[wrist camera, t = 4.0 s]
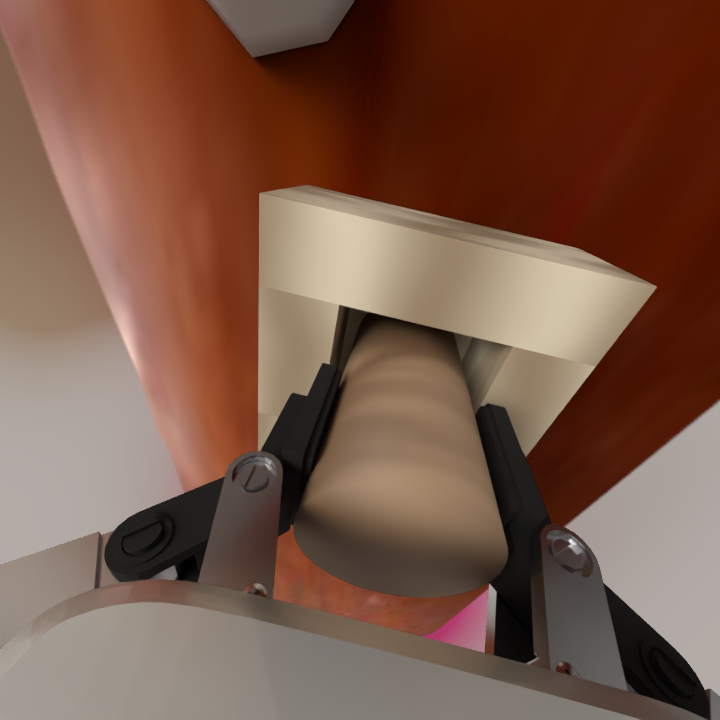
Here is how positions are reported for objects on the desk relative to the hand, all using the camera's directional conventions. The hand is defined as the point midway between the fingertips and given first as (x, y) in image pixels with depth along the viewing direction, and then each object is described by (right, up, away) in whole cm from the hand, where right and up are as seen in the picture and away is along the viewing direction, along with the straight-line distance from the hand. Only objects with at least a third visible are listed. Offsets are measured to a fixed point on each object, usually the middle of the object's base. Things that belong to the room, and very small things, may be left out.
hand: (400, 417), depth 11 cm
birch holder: (+1, +3, +5) cm, 6 cm away
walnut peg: (+1, +3, +5) cm, 5 cm away
